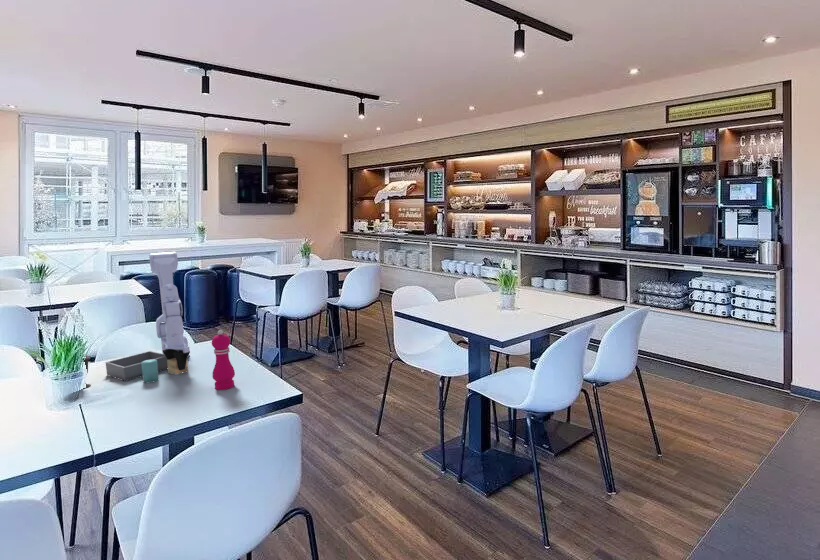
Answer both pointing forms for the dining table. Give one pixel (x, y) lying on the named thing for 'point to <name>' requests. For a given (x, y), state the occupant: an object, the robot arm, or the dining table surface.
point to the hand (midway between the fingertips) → (177, 368)
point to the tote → (134, 365)
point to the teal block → (150, 370)
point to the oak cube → (175, 366)
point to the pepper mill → (222, 362)
